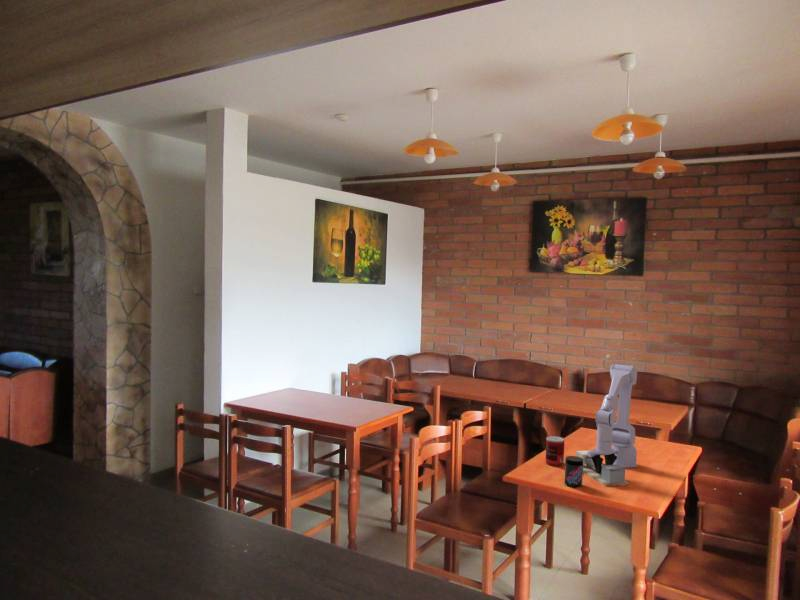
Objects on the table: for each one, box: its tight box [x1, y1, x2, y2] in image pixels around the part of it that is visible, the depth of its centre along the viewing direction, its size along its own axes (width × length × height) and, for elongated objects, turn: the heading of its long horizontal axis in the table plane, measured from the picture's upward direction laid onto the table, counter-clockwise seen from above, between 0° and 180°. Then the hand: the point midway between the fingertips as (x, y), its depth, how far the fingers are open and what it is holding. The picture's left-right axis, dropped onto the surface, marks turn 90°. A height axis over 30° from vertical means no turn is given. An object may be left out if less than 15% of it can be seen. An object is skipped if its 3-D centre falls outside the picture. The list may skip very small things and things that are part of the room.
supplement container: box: [564, 455, 584, 489], centre depth 224 cm, size 7×7×10 cm
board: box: [583, 464, 630, 487], centre depth 237 cm, size 27×10×1 cm, turn 14°
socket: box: [602, 464, 626, 483], centre depth 227 cm, size 5×7×5 cm
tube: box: [584, 456, 605, 474], centre depth 236 cm, size 19×4×4 cm, turn 14°
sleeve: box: [575, 449, 592, 467], centre depth 246 cm, size 5×7×5 cm
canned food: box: [545, 435, 565, 467], centre depth 249 cm, size 8×8×11 cm
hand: (603, 472), depth 234 cm, fingers closed on tube, 4 cm apart
